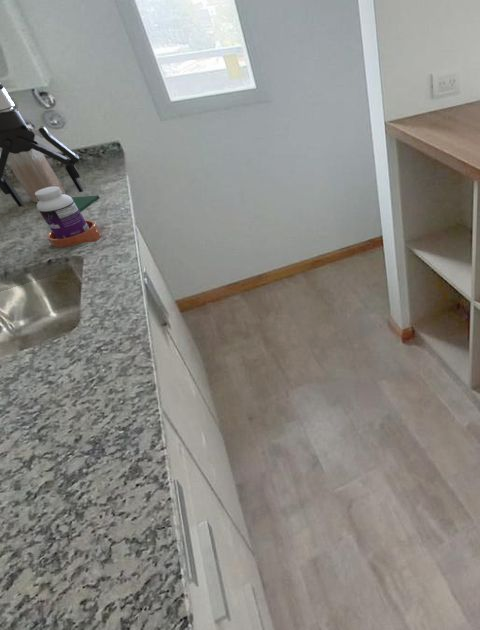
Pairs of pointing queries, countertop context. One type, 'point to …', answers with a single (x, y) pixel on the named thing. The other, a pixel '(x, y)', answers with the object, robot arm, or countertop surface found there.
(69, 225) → the pill bottle
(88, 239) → the bowl
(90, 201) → the mat
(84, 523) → the countertop surface
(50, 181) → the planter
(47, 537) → the countertop surface
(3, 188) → the robot arm
